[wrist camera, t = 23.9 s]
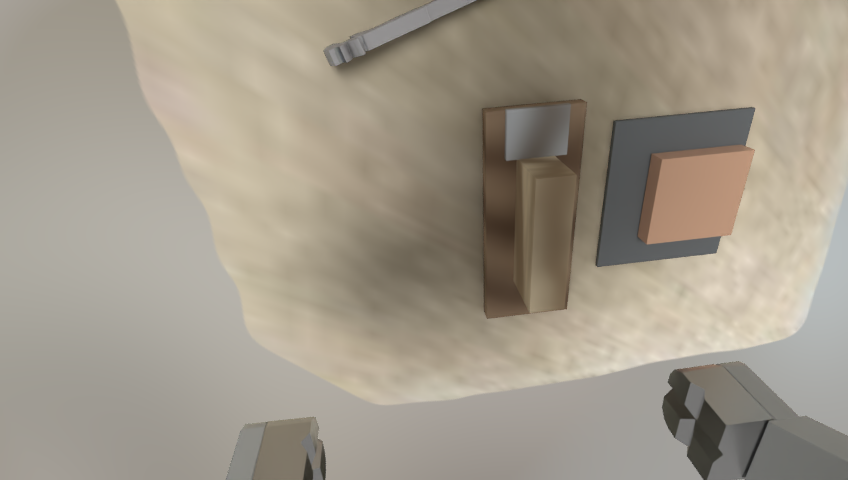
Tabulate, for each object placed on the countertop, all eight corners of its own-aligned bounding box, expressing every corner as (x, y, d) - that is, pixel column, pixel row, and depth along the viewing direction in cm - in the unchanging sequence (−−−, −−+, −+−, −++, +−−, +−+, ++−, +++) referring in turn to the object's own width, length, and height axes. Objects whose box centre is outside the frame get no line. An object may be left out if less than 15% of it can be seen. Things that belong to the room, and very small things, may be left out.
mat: (613, 120, 38) (615, 121, 38) (751, 107, 39) (755, 108, 38) (595, 264, 45) (597, 266, 44) (713, 251, 45) (716, 253, 45)
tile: (662, 159, 38) (754, 149, 38) (650, 153, 39) (740, 143, 40) (646, 244, 41) (731, 234, 42) (636, 235, 43) (718, 226, 43)
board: (482, 108, 36) (485, 112, 35) (580, 99, 37) (586, 102, 36) (484, 311, 46) (486, 318, 45) (562, 301, 46) (566, 309, 45)
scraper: (502, 282, 43) (517, 314, 39) (505, 109, 35) (524, 125, 31) (555, 275, 43) (575, 307, 39) (568, 102, 36) (596, 117, 31)
